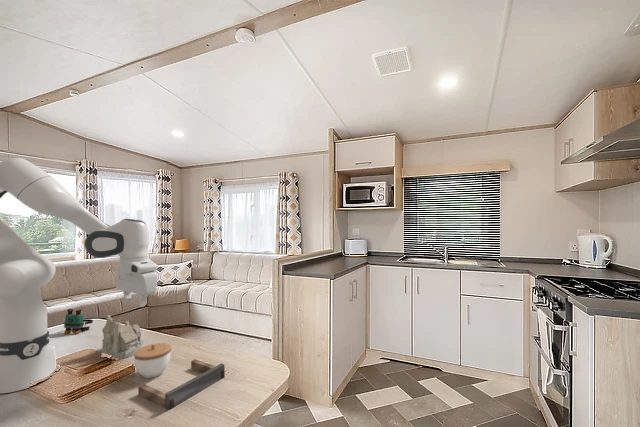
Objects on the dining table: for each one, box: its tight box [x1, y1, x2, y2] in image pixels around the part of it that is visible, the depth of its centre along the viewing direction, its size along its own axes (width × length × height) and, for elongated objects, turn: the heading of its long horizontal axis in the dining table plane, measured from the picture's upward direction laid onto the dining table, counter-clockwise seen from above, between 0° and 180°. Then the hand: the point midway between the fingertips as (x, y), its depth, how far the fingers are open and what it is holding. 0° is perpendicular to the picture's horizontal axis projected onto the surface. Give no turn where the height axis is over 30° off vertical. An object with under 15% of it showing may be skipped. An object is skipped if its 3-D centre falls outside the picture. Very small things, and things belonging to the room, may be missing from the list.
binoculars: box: [63, 308, 94, 335], centre depth 141 cm, size 9×11×10 cm
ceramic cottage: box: [100, 314, 145, 360], centre depth 119 cm, size 16×16×15 cm
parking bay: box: [137, 358, 226, 411], centre depth 92 cm, size 14×19×4 cm
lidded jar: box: [133, 342, 172, 379], centre depth 100 cm, size 11×11×9 cm
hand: (135, 304), depth 106 cm, fingers open, 7 cm apart
